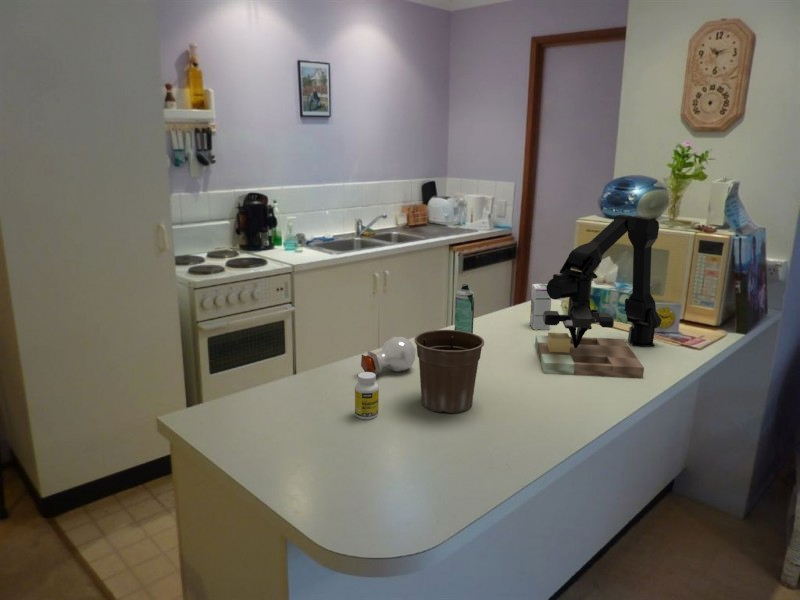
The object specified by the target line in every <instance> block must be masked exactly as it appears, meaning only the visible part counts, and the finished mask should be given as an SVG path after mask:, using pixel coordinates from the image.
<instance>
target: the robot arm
mask: <svg viewBox="0 0 800 600" xmlns="http://www.w3.org/2000/svg"><path fill="white" fill-rule="evenodd" d="M659 229H660V224H659V221H658V220H657V219H656V218H654V217H648V216H642V215H641V216H639V215H634V216H633V215H628V214H622V213H621V214H617V215H616V216H614V218H613V220H612V221H611V222H610V223H608V224H607V226H606V227H605V228H604V229H603V230H601V231H600V232H599V233H598V234H597V235H596V236H595V237H594V238H592V239H591V240H590V241H589V242H586V243H583V244H580V245H578V246H577V247H576V248H574V249H572V250H571V252H570V253H569V254H568V256H567V258H566V260H565V262H564V263H563V265H562V267H561V269H560V270H559V273H553V275H552V278H551V279H550V280H549V281H548V282H547V283H546V284H547V293H548V295H549V297H550V298H551V300H556V301H557V300H562V299H566V298H568V306H567V314H559V311H558V310H551V311H545V312H544V313H543V321H544V323H545V325H550V326H558V325H559V324H560V322H562V324H563V326H564V328H565V329H567V330H568V331H569V333H570V334H569V335H570V337H571V338H572V342H573V346H574V348H577V347H578V345H579V343H580V341H581V339H582V337H583V336H584V335H585V334H586V332H587V331H588V330H592V328H593V327H592V324H599V326H600V327H601V328H614V326H615V325H614V323H615V320H614V317H613V316H612V315H611V314H610V313H609V312H600V309H591V296H592V295H591V294H592V282H593V281H592V280H594V279H598V275H597V274H596V273H595V272H594V271H596V269H597V267H598V266H600V264H601V263H602V261H603V260H602V259H603V255H604V254H605V253H607V251H608V250H610V248H611V247H612V246H614V245H615V244H616V243H617V242H618V241H619V240H620V239H621V238H622V237H623V236H624V235H625V234H626V233H627V238H628V240H629V241H630V243H631V245H632V247H633V248H632V249H633V252H632V253H633V254H632V293H631V294H630V295H629V297H628V298H626V299H625V300H624V310H623V311H624V312H625V316H626V321H627V322H628V323H631V325H630V326H629V328H628V329H629V330H628V335H627V336H628V338H627V340H628V341H629V342H630V343H631V345H632V346H636V347H637V346H638V347H655V344H654V339H655V329H658V328H659V327H660V326H661V324H662V321H663V320H662V318H661V317H660V315H659V313H658V312H657V307H656V306H657V305H656V301H655V299H654V297H653V296H652V293H651V276H652V275H651V274H652V272H651V271H652V269H651V268H652V248H653V247H652V246H653V245H654V244H655V242H656V241H657V239H658V237H659Z"/></svg>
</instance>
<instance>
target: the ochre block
mask: <svg viewBox="0 0 800 600" xmlns="http://www.w3.org/2000/svg"><path fill="white" fill-rule="evenodd" d="M547 336H548V343H547V346H548V349H549V351H550V352H565V353H570V341H571V339H570V337H571V336H570V334H569V333H568V332H548V333H547Z"/></svg>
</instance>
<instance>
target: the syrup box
mask: <svg viewBox="0 0 800 600" xmlns="http://www.w3.org/2000/svg"><path fill="white" fill-rule="evenodd" d="M547 284H548V283H534V284H533V283H532V284H531V294H530V295H531V297H530V299H531V300H530V301H531V302H530V317H529V319H530V320H529V326H530V325H531V326H530V327H531V329H532V330H533V329H541V330H540V331H550V326H551V325H545V323H544V321H543V313H544V312H545V311H552V310H551V308H552V298H550V297H549V295H548V293H547Z"/></svg>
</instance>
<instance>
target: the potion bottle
mask: <svg viewBox="0 0 800 600" xmlns="http://www.w3.org/2000/svg"><path fill="white" fill-rule="evenodd" d="M366 354H367V355H364V354H361V357H360V358H361V361H360V366H361V369H362V371H363V372H372V373H374V374H375V375H378V374H379V373H380V372H381V371H382V370H383V368H385V367H387V368H388V369H389V370H391V371H393V372H404V371H406V370H408V369H409V368H411V367H413V365H414V362H415V361H416V355H417V348H415V346H414V345H413V343H412V341H411V340H409V339H408V338H406V337H404V336H392V337H391V338H389V339H388V340H386V341H385V342H384V344H383V346H382V348H381V351H378V352H375V353H374V352H373V351H370V350H367V353H366Z"/></svg>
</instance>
